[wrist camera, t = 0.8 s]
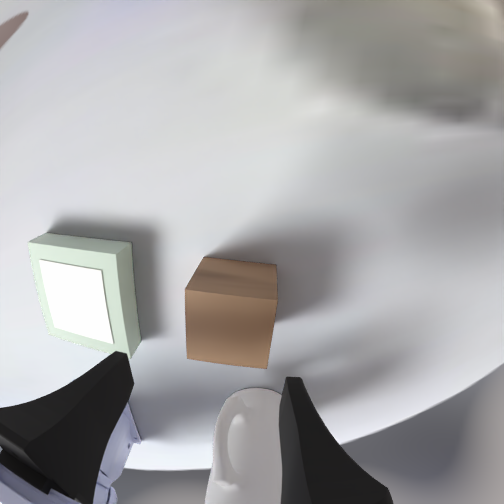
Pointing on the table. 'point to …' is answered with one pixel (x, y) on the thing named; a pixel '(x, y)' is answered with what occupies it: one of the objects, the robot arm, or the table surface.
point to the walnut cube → (231, 312)
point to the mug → (247, 450)
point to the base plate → (87, 291)
